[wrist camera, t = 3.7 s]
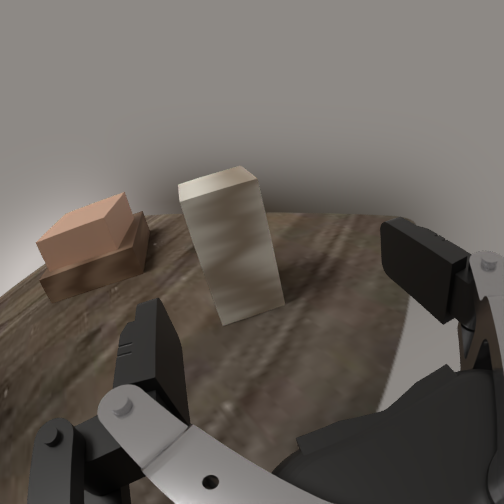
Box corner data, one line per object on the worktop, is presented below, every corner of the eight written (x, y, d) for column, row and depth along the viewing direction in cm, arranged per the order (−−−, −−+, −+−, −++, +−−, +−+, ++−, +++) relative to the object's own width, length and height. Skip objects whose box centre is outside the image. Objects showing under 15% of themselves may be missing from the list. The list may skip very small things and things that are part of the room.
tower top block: (49, 271, 33) (35, 242, 31) (75, 238, 42) (65, 213, 40) (117, 249, 33) (104, 217, 31) (134, 218, 42) (124, 192, 40)
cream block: (222, 325, 24) (179, 201, 19) (213, 291, 28) (178, 184, 23) (285, 304, 24) (257, 178, 20) (267, 274, 29) (240, 165, 24)
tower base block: (54, 307, 33) (39, 280, 31) (77, 260, 45) (67, 238, 43) (145, 277, 35) (132, 247, 33) (151, 235, 46) (142, 211, 44)
